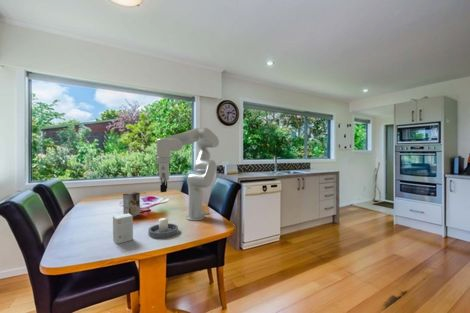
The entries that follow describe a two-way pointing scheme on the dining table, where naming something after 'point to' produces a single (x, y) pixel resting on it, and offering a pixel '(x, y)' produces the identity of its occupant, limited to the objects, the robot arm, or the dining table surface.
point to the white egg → (163, 225)
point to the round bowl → (171, 232)
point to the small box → (122, 228)
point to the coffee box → (131, 203)
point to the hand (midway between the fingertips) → (164, 190)
